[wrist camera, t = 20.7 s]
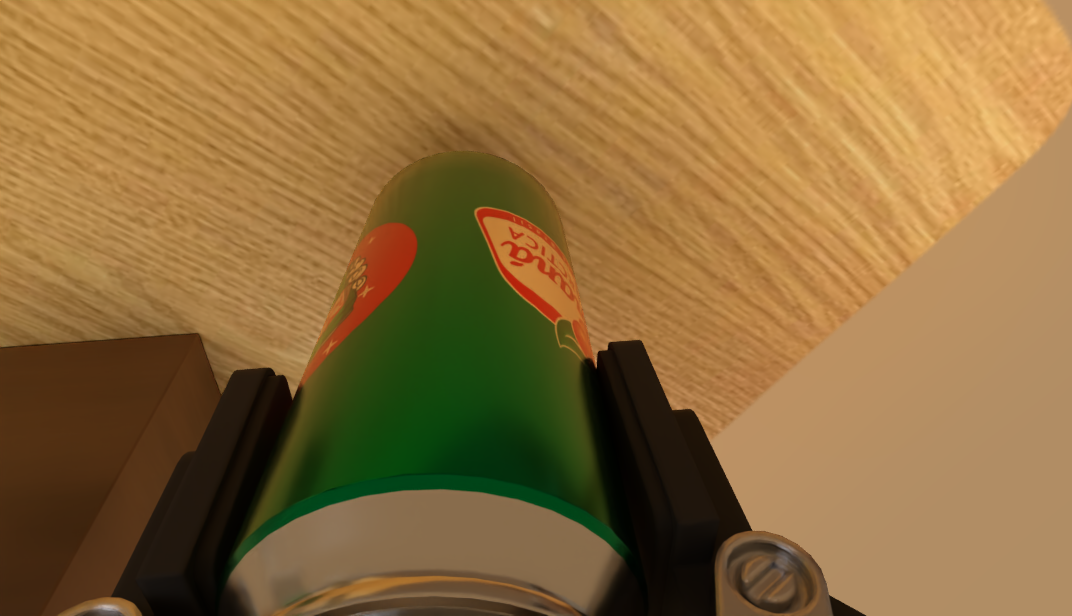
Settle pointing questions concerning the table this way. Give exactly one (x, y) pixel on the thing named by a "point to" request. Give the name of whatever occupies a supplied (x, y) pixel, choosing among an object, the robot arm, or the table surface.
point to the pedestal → (89, 459)
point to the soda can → (445, 425)
